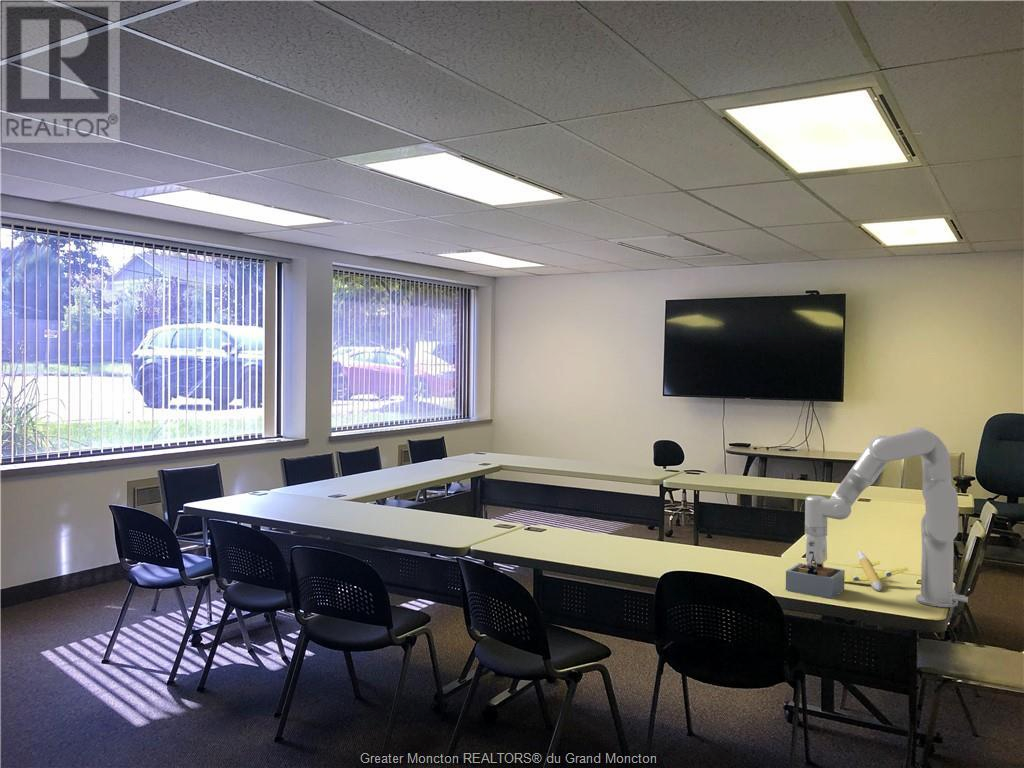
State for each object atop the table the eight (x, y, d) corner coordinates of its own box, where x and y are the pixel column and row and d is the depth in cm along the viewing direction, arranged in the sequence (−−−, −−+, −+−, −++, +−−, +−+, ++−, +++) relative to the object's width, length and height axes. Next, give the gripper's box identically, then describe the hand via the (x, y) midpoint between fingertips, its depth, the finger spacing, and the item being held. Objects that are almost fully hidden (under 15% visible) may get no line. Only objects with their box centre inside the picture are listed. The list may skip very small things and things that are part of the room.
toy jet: (920, 597, 274) (896, 556, 303) (916, 579, 273) (892, 540, 301) (844, 609, 281) (828, 569, 309) (840, 592, 279) (824, 553, 308)
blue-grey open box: (844, 589, 280) (844, 570, 279) (832, 598, 268) (832, 578, 268) (799, 581, 289) (799, 563, 289) (785, 590, 278) (785, 570, 278)
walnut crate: (834, 583, 278) (834, 569, 278) (828, 587, 273) (828, 572, 273) (802, 577, 284) (802, 564, 284) (796, 581, 279) (797, 567, 279)
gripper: (819, 536, 269) (818, 587, 269) (833, 528, 283) (833, 577, 283) (797, 533, 274) (797, 583, 274) (812, 525, 287) (812, 573, 288)
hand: (815, 580), depth 279 cm, fingers closed on walnut crate, 6 cm apart
